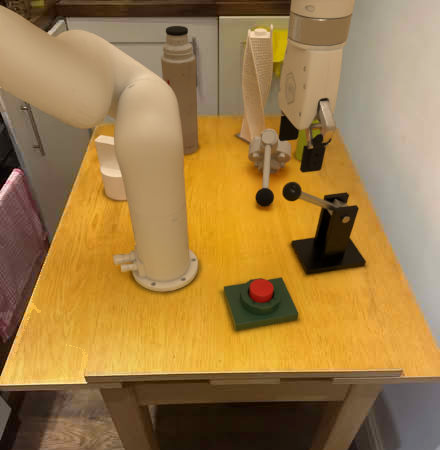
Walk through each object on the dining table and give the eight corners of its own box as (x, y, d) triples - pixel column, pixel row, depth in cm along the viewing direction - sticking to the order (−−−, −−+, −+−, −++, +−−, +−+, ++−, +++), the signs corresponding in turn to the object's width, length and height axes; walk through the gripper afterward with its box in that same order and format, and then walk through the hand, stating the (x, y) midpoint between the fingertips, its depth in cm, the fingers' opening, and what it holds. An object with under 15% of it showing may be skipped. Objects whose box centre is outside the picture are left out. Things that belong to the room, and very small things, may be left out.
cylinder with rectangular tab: (97, 195, 95) (85, 147, 86) (116, 176, 100) (107, 128, 92) (132, 203, 93) (124, 154, 84) (149, 182, 99) (143, 135, 90)
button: (252, 304, 68) (253, 297, 67) (246, 287, 71) (247, 280, 70) (275, 300, 69) (276, 293, 68) (268, 284, 72) (269, 277, 70)
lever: (282, 202, 67) (293, 186, 65) (276, 191, 69) (286, 175, 67) (342, 224, 74) (354, 210, 72) (335, 213, 76) (346, 199, 74)
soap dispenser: (302, 165, 104) (316, 83, 90) (291, 152, 109) (303, 72, 94) (323, 162, 106) (340, 80, 91) (312, 149, 110) (326, 69, 95)
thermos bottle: (172, 156, 107) (162, 34, 86) (166, 142, 112) (155, 24, 91) (201, 152, 109) (198, 31, 88) (194, 138, 114) (189, 21, 93)
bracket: (306, 275, 78) (319, 221, 68) (290, 245, 83) (300, 191, 74) (364, 266, 79) (384, 212, 70) (345, 237, 85) (361, 183, 76)
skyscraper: (274, 139, 114) (287, 22, 93) (253, 148, 110) (262, 29, 90) (253, 128, 118) (261, 14, 97) (232, 137, 115) (236, 21, 94)
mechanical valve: (291, 150, 104) (292, 123, 89) (286, 220, 103) (287, 204, 88) (250, 150, 105) (245, 124, 90) (246, 218, 105) (240, 203, 90)
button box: (235, 331, 68) (236, 318, 66) (223, 292, 74) (223, 279, 72) (297, 320, 70) (300, 306, 68) (280, 283, 76) (283, 269, 73)
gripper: (268, 11, 56) (259, 131, 69) (317, 53, 45) (295, 187, 57) (319, 8, 57) (301, 127, 70) (379, 48, 46) (344, 181, 59)
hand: (298, 154), depth 64 cm, fingers open, 9 cm apart
